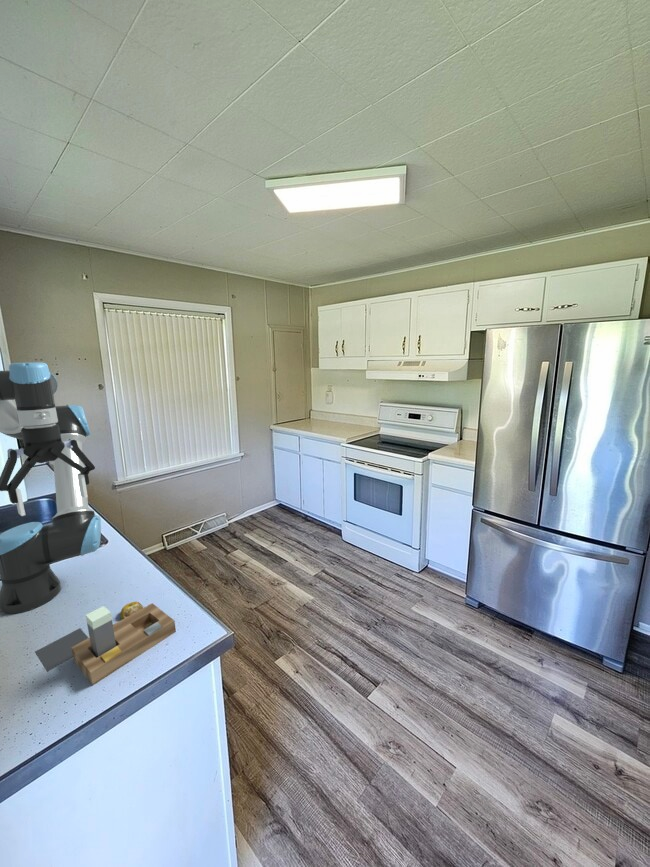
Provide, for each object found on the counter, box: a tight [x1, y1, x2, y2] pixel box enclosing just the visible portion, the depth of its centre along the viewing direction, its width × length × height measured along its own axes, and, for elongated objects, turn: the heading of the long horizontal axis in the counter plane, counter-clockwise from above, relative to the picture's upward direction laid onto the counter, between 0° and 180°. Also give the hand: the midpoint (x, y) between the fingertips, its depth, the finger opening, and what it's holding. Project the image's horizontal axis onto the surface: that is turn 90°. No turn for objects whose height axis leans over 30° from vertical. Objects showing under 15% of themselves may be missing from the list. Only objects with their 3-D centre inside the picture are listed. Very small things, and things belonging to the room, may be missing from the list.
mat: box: [34, 627, 89, 672], centre depth 90 cm, size 10×10×1 cm
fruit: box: [120, 601, 144, 620], centre depth 102 cm, size 8×8×4 cm
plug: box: [85, 605, 116, 658], centre depth 86 cm, size 4×4×12 cm
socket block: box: [71, 603, 177, 686], centre depth 90 cm, size 12×20×4 cm, turn 142°
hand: (55, 505), depth 92 cm, fingers open, 13 cm apart
